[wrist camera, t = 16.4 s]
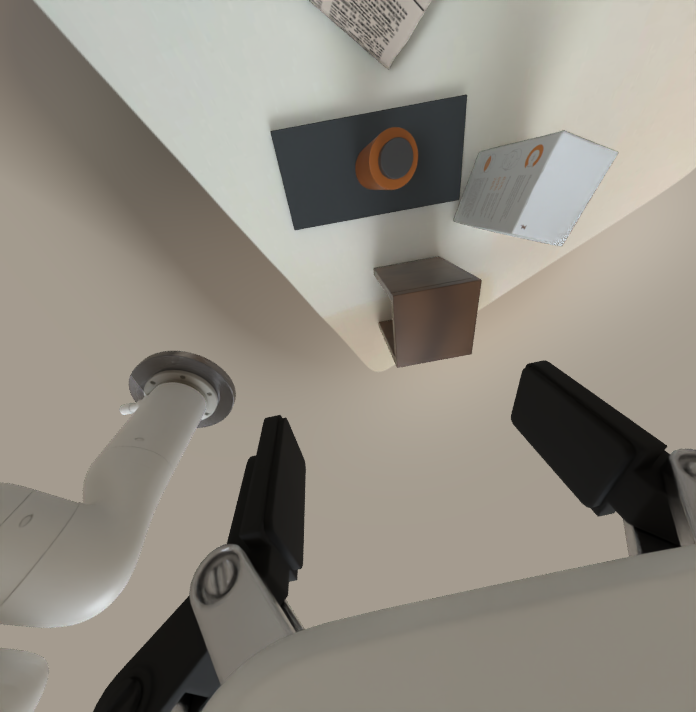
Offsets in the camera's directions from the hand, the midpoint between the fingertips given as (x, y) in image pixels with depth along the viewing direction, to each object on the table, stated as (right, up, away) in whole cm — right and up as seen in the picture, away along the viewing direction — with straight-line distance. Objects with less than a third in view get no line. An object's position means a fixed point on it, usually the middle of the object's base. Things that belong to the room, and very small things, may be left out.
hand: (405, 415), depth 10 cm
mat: (+1, +26, +22) cm, 33 cm away
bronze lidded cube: (+7, +12, +31) cm, 34 cm away
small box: (+16, +24, +24) cm, 38 cm away
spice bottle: (+1, +25, +21) cm, 32 cm away
